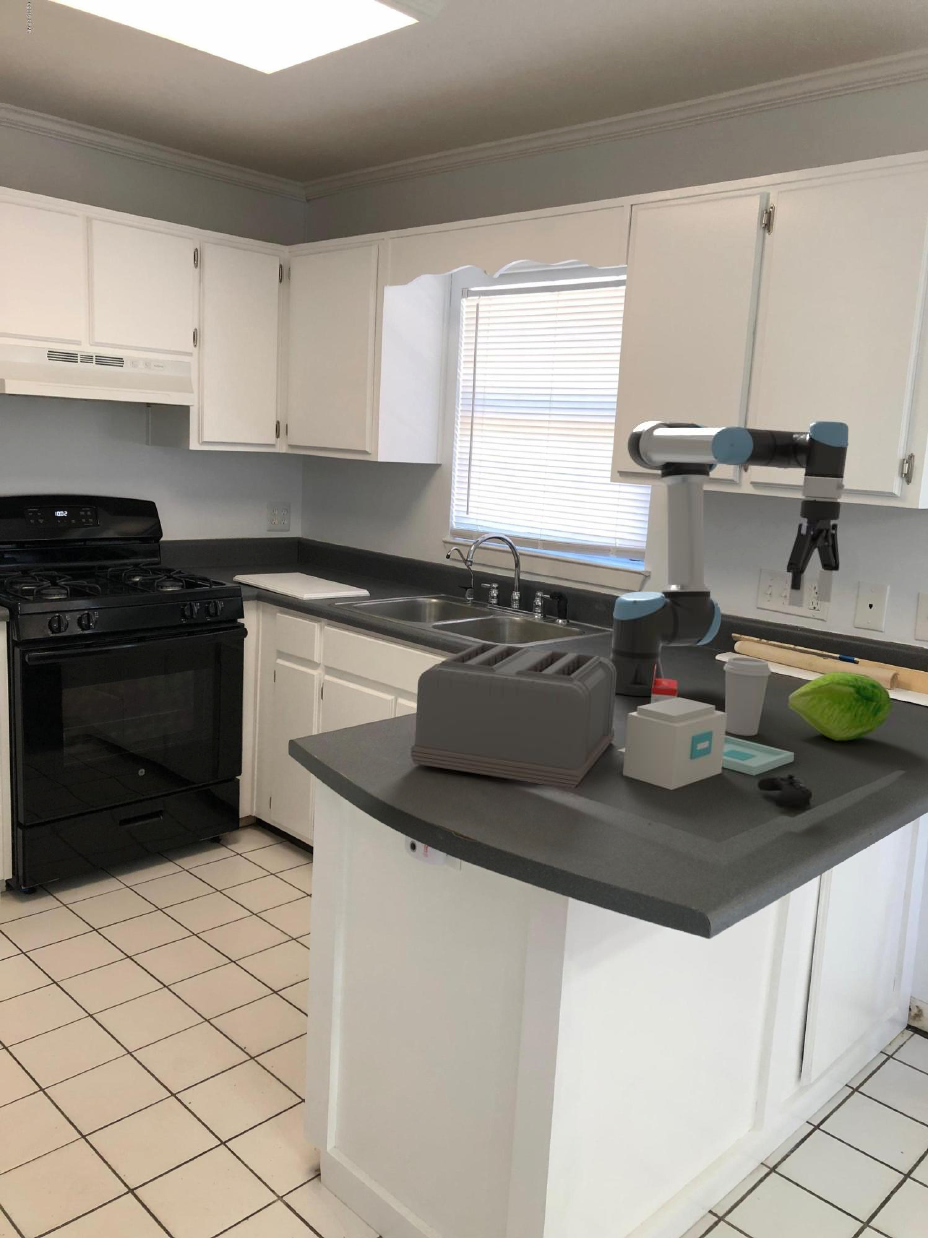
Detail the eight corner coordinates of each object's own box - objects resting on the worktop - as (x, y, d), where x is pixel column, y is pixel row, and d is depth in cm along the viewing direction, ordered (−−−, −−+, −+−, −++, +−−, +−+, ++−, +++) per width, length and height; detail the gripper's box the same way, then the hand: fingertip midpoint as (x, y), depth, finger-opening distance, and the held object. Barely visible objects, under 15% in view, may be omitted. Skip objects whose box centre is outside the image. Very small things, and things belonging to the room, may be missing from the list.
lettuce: (788, 722, 223) (795, 661, 221) (887, 735, 216) (895, 672, 213) (783, 737, 209) (790, 672, 207) (888, 752, 202) (896, 685, 200)
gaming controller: (753, 782, 172) (781, 760, 172) (771, 805, 173) (799, 783, 173) (774, 802, 162) (804, 779, 162) (793, 826, 163) (823, 803, 163)
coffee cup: (768, 730, 215) (775, 660, 212) (760, 740, 206) (768, 667, 204) (722, 723, 219) (728, 654, 216) (713, 732, 210) (720, 661, 208)
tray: (681, 755, 192) (682, 747, 192) (723, 742, 203) (723, 735, 202) (753, 775, 182) (754, 766, 181) (793, 761, 192) (794, 753, 192)
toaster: (618, 738, 202) (625, 650, 200) (578, 789, 169) (585, 684, 166) (474, 718, 212) (479, 633, 209) (409, 763, 179) (414, 663, 176)
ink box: (672, 747, 197) (679, 673, 195) (647, 745, 198) (653, 671, 196) (672, 736, 205) (679, 665, 203) (648, 734, 206) (654, 663, 204)
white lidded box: (609, 770, 180) (614, 703, 178) (660, 755, 191) (665, 692, 189) (674, 790, 170) (680, 720, 169) (723, 773, 182) (730, 707, 180)
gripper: (813, 500, 193) (801, 610, 197) (863, 501, 212) (851, 601, 215) (776, 497, 198) (765, 605, 202) (828, 498, 217) (817, 597, 220)
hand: (809, 603), depth 208 cm, fingers open, 13 cm apart
